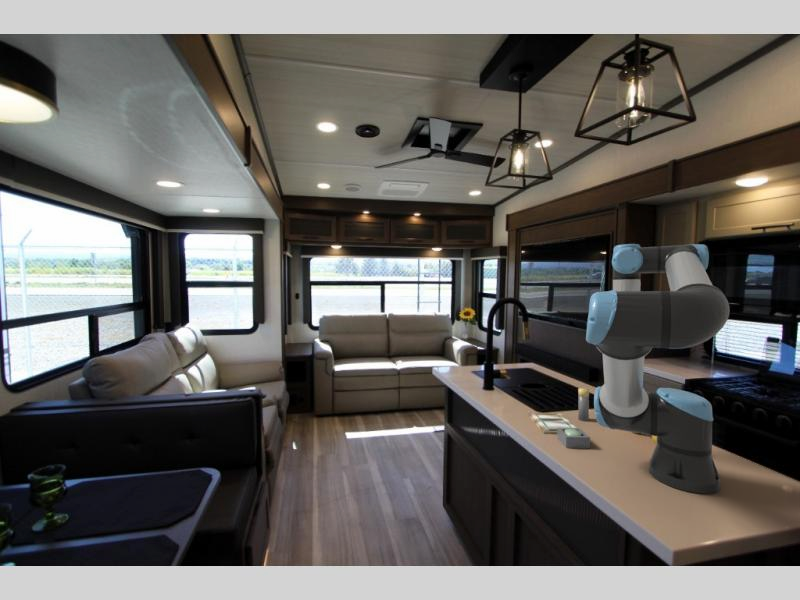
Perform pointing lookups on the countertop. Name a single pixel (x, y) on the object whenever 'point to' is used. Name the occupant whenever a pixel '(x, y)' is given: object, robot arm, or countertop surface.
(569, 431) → the button
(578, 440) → the button housing
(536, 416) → the double window tray
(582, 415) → the ochre marker
